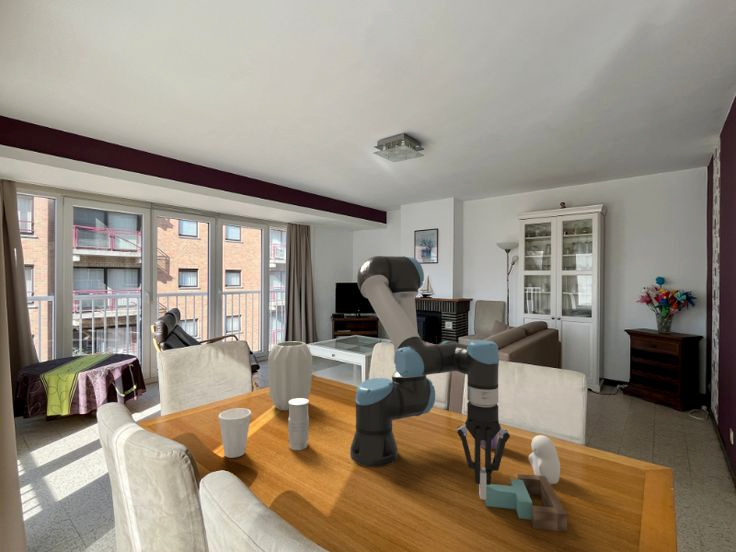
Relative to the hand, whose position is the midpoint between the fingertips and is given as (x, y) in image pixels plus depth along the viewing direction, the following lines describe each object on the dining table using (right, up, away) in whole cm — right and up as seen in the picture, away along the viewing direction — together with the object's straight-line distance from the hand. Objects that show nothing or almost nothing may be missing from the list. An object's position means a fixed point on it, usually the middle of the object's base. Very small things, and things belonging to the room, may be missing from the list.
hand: (482, 496), depth 94 cm
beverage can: (+12, -2, +32) cm, 34 cm away
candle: (-52, -2, +31) cm, 61 cm away
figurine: (+22, -2, +12) cm, 25 cm away
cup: (-72, -2, +26) cm, 76 cm away
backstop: (+14, -2, -2) cm, 14 cm away
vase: (-63, -2, +70) cm, 94 cm away
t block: (+6, -2, -1) cm, 6 cm away
